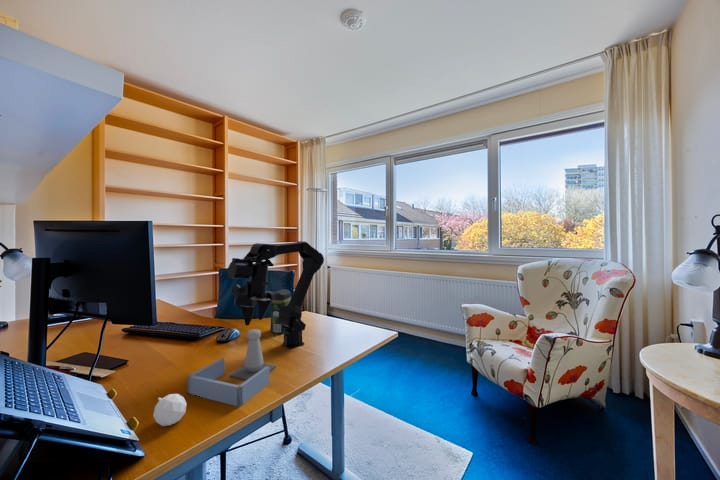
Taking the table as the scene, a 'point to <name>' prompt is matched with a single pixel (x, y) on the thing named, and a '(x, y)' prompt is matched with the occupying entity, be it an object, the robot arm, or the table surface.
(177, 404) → the ornament
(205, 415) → the table surface
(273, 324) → the coffee jar
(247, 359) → the salt shaker
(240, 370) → the coaster
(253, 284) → the robot arm
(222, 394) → the cradle
